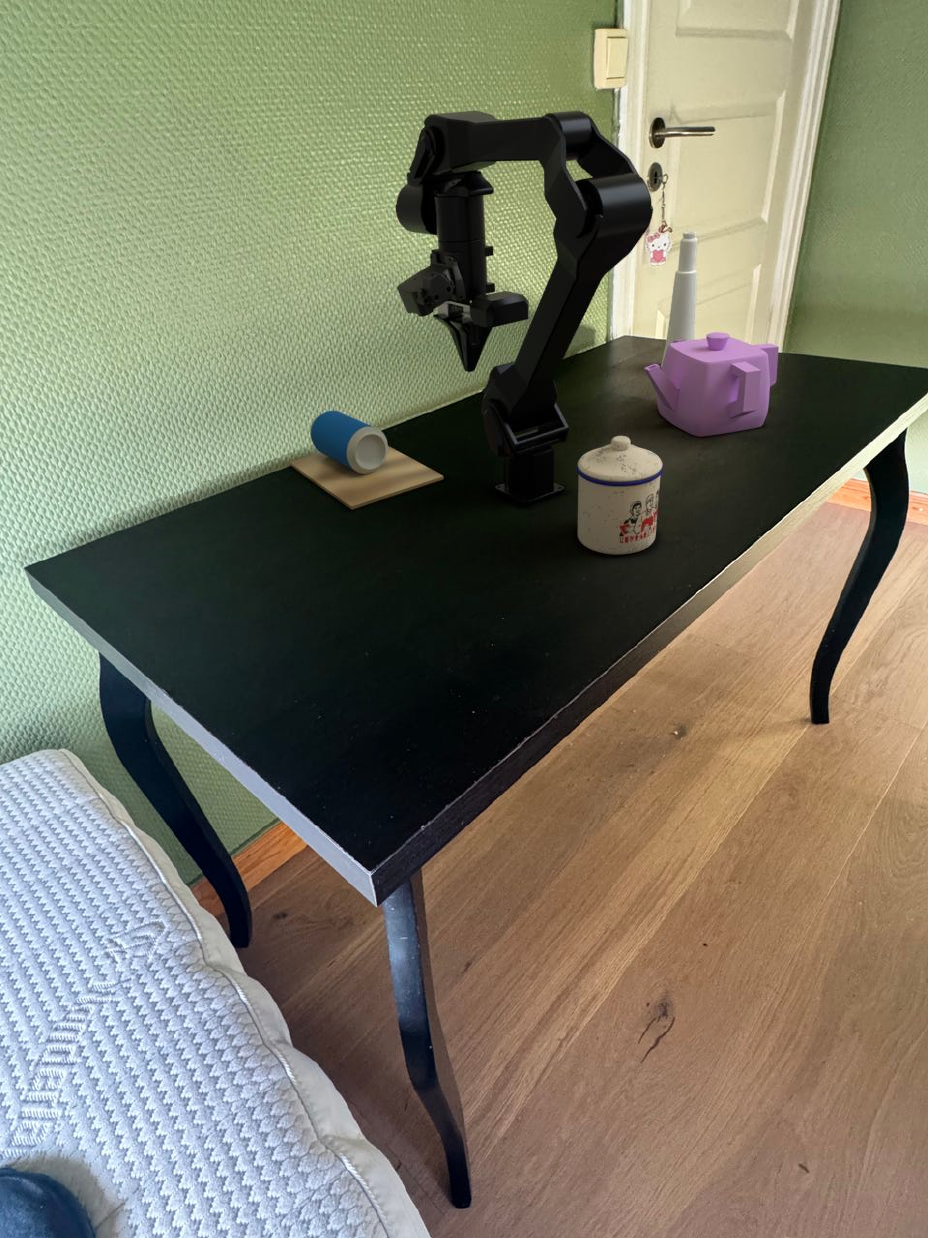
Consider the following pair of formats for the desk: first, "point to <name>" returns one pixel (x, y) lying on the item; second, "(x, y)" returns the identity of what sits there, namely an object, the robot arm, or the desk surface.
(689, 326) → the cosmetic bottle
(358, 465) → the beverage can
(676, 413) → the teakettle
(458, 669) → the desk surface
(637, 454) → the teacup with lid
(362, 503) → the board
